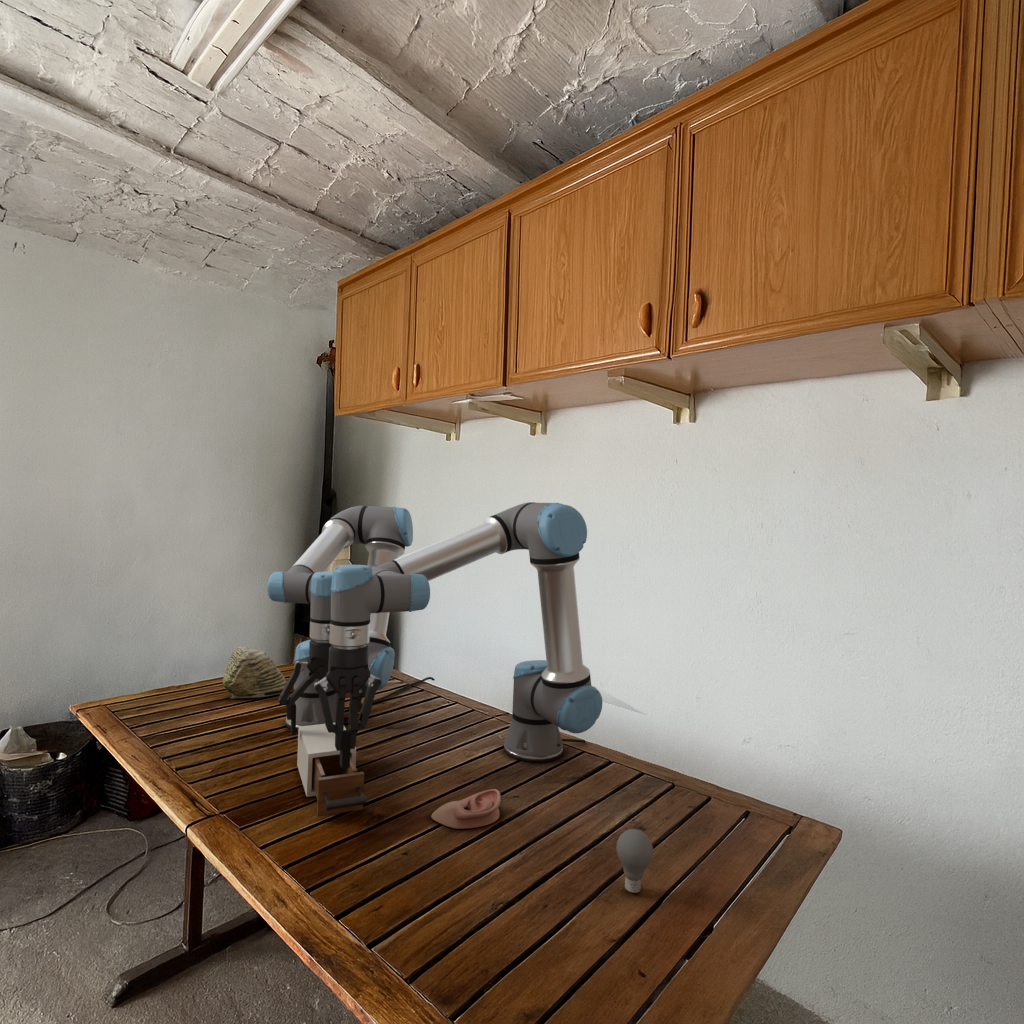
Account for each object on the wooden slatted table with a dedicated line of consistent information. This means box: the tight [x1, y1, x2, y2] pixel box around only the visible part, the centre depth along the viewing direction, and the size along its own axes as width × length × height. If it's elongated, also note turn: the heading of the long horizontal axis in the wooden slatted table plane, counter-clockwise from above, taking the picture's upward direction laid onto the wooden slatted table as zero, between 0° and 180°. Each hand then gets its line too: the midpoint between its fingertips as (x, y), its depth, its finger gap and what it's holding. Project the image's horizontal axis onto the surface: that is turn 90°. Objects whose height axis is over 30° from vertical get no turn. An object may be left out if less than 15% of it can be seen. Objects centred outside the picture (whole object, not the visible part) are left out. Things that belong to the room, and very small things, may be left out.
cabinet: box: [296, 723, 357, 798], centre depth 143 cm, size 17×10×9 cm, turn 25°
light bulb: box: [615, 828, 654, 894], centre depth 106 cm, size 6×6×10 cm
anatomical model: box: [430, 788, 502, 830], centre depth 128 cm, size 13×4×12 cm
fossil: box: [222, 646, 287, 699], centre depth 198 cm, size 9×18×15 cm, turn 132°
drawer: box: [312, 754, 368, 818], centre depth 130 cm, size 22×9×7 cm, turn 25°
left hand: (323, 729), depth 148 cm, fingers open, 13 cm apart
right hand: (344, 765), depth 123 cm, fingers closed
